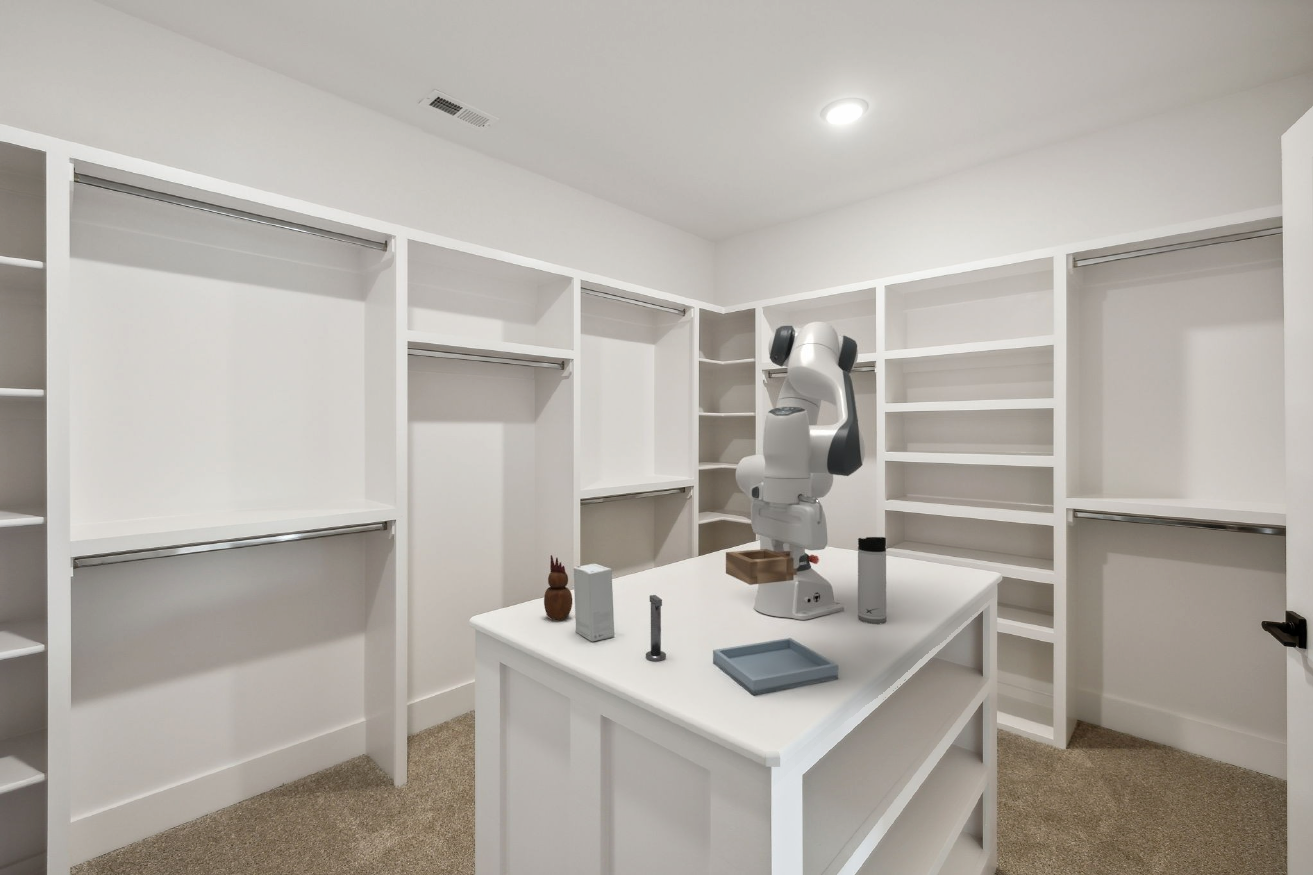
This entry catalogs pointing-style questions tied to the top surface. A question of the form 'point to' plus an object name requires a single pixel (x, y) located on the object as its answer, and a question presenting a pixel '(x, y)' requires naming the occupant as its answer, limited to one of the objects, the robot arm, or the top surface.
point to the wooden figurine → (557, 593)
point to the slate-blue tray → (774, 665)
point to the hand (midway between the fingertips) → (786, 565)
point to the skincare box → (594, 602)
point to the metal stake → (655, 631)
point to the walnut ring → (760, 566)
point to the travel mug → (872, 579)
